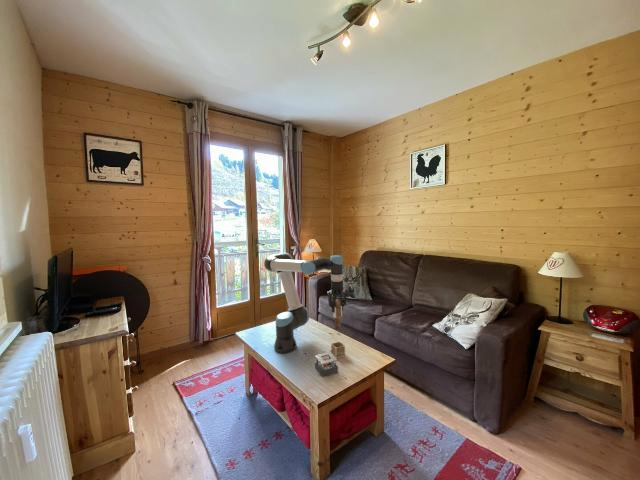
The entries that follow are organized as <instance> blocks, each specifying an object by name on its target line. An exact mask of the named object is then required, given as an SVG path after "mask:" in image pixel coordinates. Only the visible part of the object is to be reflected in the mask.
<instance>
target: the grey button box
mask: <svg viewBox="0 0 640 480" xmlns="http://www.w3.org/2000/svg"><path fill="white" fill-rule="evenodd" d="M327 356H328V357H327ZM314 357H315V361H314V369H315V370H316V371H317V373H318V375H319V376H321V378H325V377H328V376H331V375H335V374H338V373H339V368H338V367H339V366H338V364H337V362H338V358H336V357H335V356H334V355H333V354H332V353H331V351H327V352H323V353H320V354H315V355H314ZM324 357H327V358H324ZM328 363H329V366H325V367H324V364H328Z"/></svg>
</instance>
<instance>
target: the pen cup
mask: <svg viewBox="0 0 640 480" xmlns="http://www.w3.org/2000/svg"><path fill="white" fill-rule="evenodd" d="M330 346H331V347H330V352H331V353H332V354H333V355H334V356H335V357H336V359H340V358H343V357H346V345H345V344H344V343H343V342H342V341H337V342H331V343H330Z"/></svg>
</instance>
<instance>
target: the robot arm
mask: <svg viewBox="0 0 640 480" xmlns="http://www.w3.org/2000/svg"><path fill="white" fill-rule="evenodd" d="M343 261H344V260H343V256H342V255H338V254H337V255H331V256H330V257H324V256H318V257H316V258H315V259H312V260H308V259H307V260H303V259H302V260H301V259H294V257H293V256H292V255H291V254H290V253H288V252H281V253H276V254H275V253H274V254H270V255H268V256H267V257H266V258H265V259H264V262H263V264H264V269H266V270H267V271H268V272H274V273H276V274H277V275H278V276H279V277H280V280H281V284H282V287H283V290H284V294H285V297H286V301H287V305H288V309H287V311H283V312H282V311H281V312H280V313H278V314H277V316H275V332H276V337H275V340H274V346H273V350H274V352H276V353H278V354H289V353H292V352H294V351H295V350H296V349H297V346H298V345H297V341H296V338H295V336H294V335H295V333H294V331H295V330H297V329H298V328H301V327H303V326H304V325H306V324H307V323H308V322H309V320H310V312H309V310H308V309H307V308H306V307H304V305H303V304H302V303H301V301H300V297H299V293H298V291H297V287H296V283H295V281H294V277H293V274H292V273H293V272H294V273H302V274H304V275H312V274H314V273H317V272H320V271H324V270H327V271H330V290H329V291H328V290H327V291H326V294H327V299H328V306H329V307H330V308H331V312H332V316H333V318H334V319H335V318H336V307H335V302H336V300H337V296H338V300H340V308H341V318H342V317H343V311H344V307H345V306H346V305H347V292H348V289H347V288H344V281H343V280H344V262H343Z"/></svg>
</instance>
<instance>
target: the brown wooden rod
mask: <svg viewBox="0 0 640 480" xmlns="http://www.w3.org/2000/svg"><path fill="white" fill-rule="evenodd" d="M335 307H336V318H335V317H334V328H335V331H336V330H338V331H340V330H342V325H341V324H342V320H341V319H342V317H341V308H340V300H339V299H336V302H335Z"/></svg>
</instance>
